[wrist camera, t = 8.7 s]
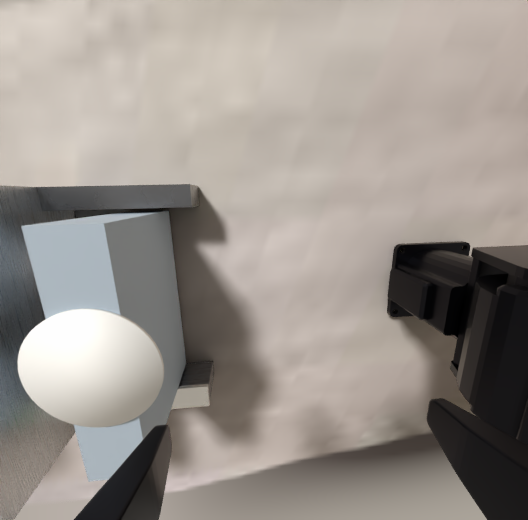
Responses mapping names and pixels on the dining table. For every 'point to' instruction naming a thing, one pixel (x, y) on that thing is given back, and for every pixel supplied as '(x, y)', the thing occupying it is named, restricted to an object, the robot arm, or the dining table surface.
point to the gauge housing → (31, 314)
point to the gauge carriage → (105, 330)
